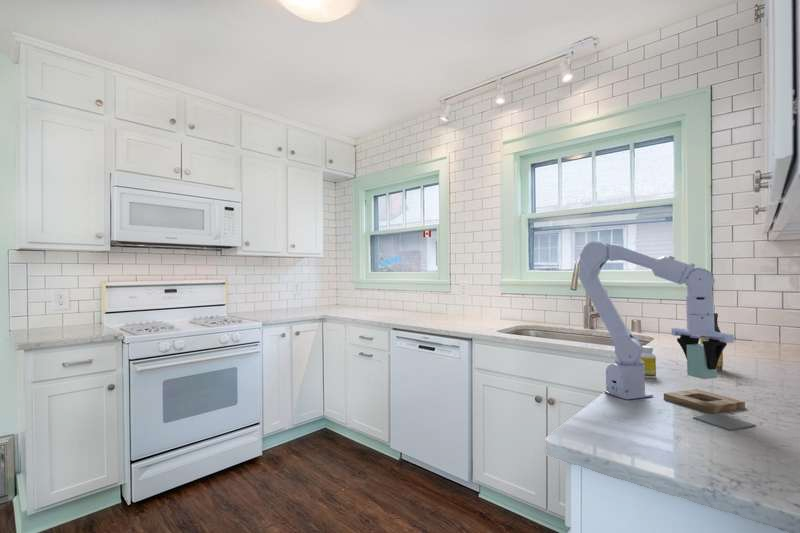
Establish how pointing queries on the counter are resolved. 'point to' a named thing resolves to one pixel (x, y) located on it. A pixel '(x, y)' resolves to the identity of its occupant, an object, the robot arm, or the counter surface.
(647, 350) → the supplement bottle
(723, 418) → the rubber mat
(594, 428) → the counter surface
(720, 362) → the sauce bottle
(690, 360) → the peg
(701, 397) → the block
